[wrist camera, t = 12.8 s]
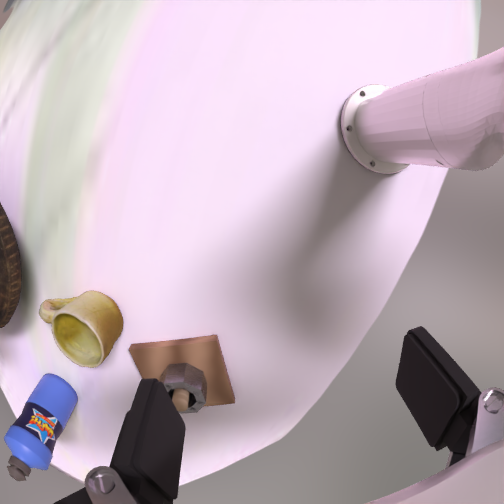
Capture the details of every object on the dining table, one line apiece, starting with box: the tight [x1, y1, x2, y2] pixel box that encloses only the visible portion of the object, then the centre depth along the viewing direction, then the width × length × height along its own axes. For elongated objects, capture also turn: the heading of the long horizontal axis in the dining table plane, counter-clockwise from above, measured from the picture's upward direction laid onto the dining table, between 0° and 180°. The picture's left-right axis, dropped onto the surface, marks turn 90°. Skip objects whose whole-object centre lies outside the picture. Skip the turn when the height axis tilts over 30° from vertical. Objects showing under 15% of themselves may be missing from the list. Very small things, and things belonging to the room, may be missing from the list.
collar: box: [159, 363, 207, 413], centre depth 39 cm, size 7×7×4 cm
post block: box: [129, 335, 235, 412], centre depth 39 cm, size 14×14×8 cm
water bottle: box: [4, 374, 78, 481], centre depth 31 cm, size 9×9×25 cm
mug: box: [39, 291, 123, 368], centre depth 34 cm, size 12×10×10 cm
